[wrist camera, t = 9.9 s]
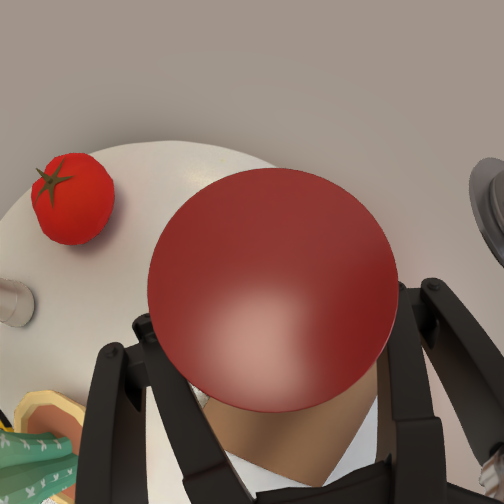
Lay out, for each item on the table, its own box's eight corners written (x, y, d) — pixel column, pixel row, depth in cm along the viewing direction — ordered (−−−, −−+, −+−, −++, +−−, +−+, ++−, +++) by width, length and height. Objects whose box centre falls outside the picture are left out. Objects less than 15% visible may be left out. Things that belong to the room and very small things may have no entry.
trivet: (387, 367, 28) (390, 367, 27) (318, 486, 24) (319, 489, 23) (262, 306, 31) (262, 305, 30) (191, 429, 27) (189, 430, 26)
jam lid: (402, 251, 11) (425, 231, 9) (316, 436, 8) (327, 453, 7) (234, 169, 12) (230, 138, 10) (130, 329, 10) (104, 323, 8)
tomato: (69, 189, 38) (30, 148, 27) (132, 175, 38) (99, 123, 27) (56, 261, 34) (5, 231, 23) (124, 254, 34) (76, 214, 23)
